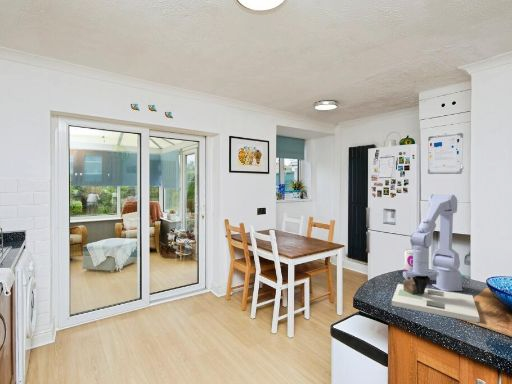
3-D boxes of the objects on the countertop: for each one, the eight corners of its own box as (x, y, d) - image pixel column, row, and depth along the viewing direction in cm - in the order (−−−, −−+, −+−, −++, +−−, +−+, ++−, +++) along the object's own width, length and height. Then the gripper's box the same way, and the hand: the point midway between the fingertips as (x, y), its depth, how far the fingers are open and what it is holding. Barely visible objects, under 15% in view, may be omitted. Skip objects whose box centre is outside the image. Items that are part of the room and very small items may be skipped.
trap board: (472, 300, 120) (472, 295, 120) (479, 322, 101) (479, 317, 101) (397, 287, 135) (398, 283, 135) (391, 305, 115) (391, 300, 115)
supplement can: (422, 283, 140) (422, 253, 140) (403, 281, 144) (403, 251, 144) (423, 279, 147) (423, 250, 146) (405, 276, 151) (405, 248, 151)
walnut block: (422, 292, 123) (421, 282, 123) (412, 294, 121) (412, 284, 121) (412, 288, 128) (412, 278, 127) (403, 290, 126) (403, 280, 126)
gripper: (430, 258, 124) (430, 289, 125) (398, 259, 123) (398, 290, 123) (442, 262, 117) (442, 295, 118) (408, 263, 116) (408, 297, 116)
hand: (420, 293), depth 120 cm, fingers closed
